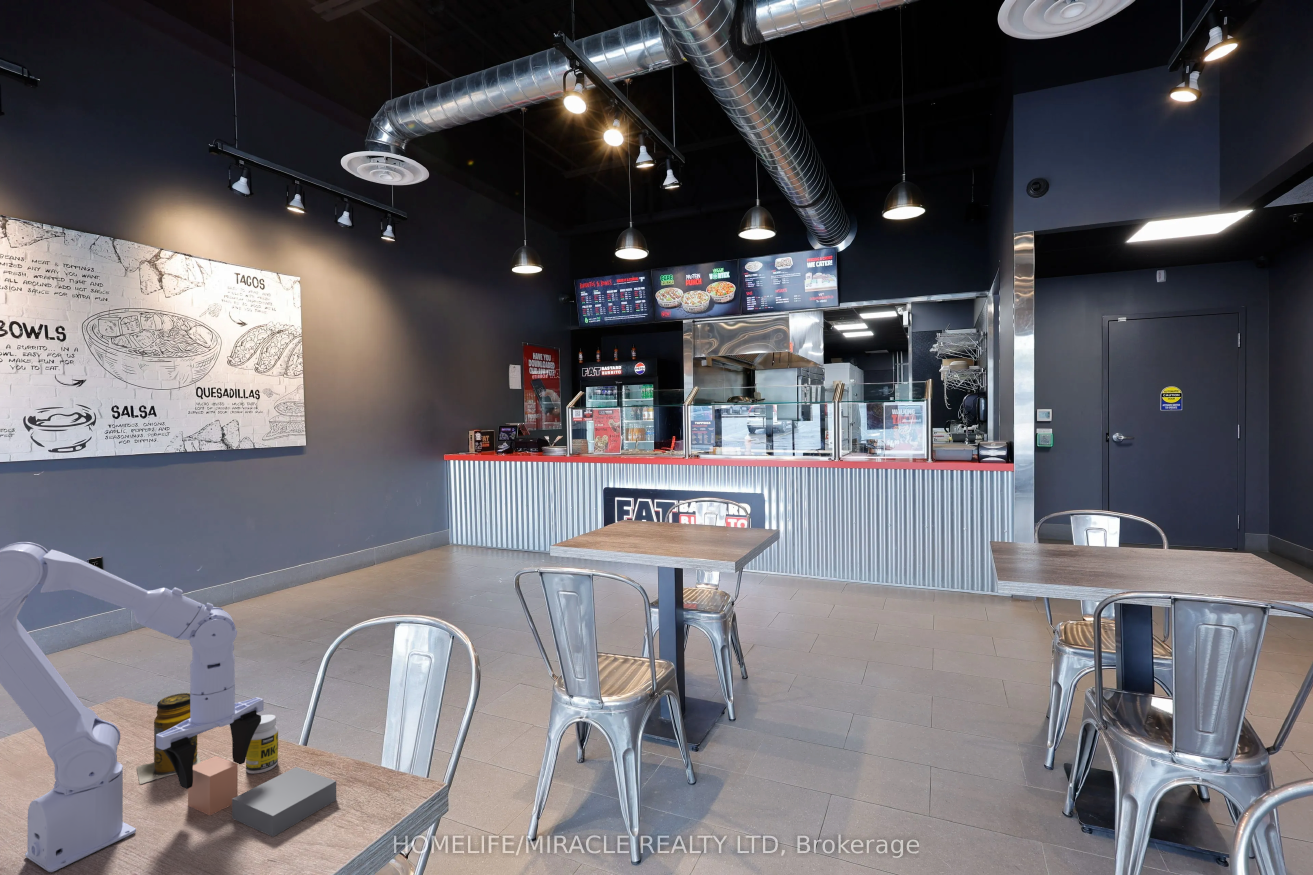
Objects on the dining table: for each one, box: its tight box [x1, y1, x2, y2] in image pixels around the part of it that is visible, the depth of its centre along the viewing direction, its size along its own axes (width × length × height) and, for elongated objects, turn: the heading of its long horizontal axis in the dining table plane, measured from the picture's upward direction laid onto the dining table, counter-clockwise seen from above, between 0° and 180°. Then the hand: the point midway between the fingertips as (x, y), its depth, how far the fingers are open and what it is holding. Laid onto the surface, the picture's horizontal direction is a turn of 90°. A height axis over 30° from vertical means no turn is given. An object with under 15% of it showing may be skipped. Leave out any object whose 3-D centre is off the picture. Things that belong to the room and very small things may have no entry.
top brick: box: [187, 755, 239, 816], centre depth 96 cm, size 4×6×6 cm, turn 64°
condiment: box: [136, 692, 202, 785], centre depth 107 cm, size 7×8×12 cm
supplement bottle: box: [245, 714, 279, 775], centre depth 106 cm, size 5×5×8 cm
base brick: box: [231, 766, 337, 837], centre depth 94 cm, size 10×10×3 cm
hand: (213, 773), depth 96 cm, fingers open, 7 cm apart
